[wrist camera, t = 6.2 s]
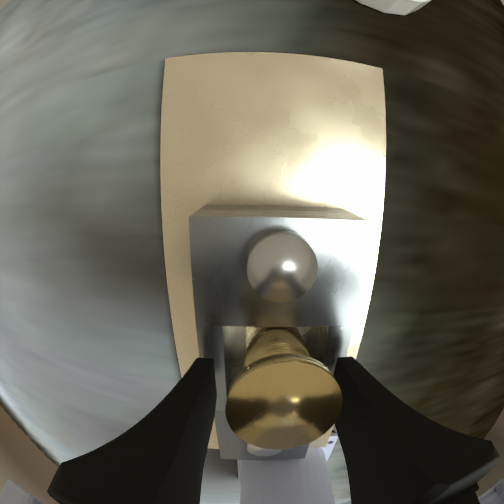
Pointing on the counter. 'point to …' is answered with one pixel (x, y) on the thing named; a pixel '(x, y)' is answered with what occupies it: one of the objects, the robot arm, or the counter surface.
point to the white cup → (395, 5)
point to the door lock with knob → (269, 209)
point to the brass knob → (281, 392)
